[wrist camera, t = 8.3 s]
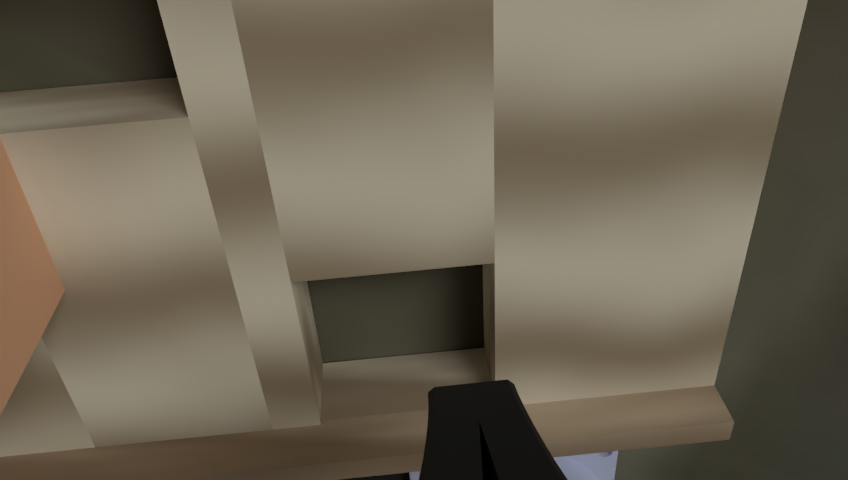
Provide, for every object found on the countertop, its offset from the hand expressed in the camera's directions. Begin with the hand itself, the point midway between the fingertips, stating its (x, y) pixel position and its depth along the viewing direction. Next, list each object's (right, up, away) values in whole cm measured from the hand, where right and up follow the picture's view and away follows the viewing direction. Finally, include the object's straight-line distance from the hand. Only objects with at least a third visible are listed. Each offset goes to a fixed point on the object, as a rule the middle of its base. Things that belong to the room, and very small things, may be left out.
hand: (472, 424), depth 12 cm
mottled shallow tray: (-4, +5, +8) cm, 11 cm away
